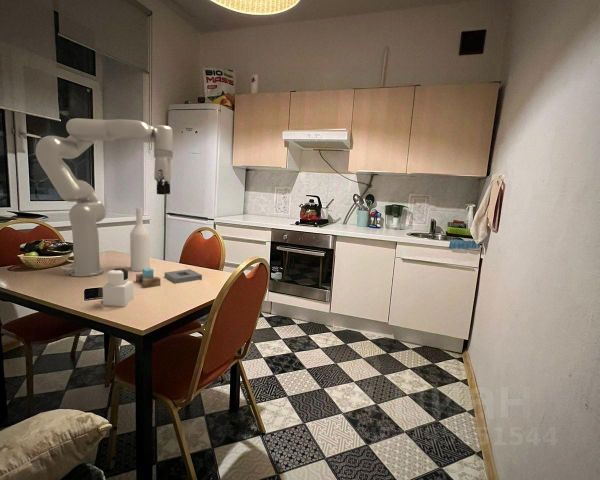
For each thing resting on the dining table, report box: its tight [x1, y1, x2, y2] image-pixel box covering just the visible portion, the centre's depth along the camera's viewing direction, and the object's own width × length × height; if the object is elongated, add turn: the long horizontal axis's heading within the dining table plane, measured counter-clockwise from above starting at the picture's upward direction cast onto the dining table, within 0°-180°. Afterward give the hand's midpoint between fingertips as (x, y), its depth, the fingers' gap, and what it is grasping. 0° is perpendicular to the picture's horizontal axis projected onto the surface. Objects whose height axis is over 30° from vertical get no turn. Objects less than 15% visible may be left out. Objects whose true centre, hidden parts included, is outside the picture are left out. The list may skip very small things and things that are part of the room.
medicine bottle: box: [101, 267, 135, 308], centre depth 109 cm, size 7×7×12 cm
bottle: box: [129, 207, 150, 272], centre depth 151 cm, size 8×8×30 cm
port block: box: [163, 268, 203, 285], centre depth 142 cm, size 12×12×2 cm
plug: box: [141, 267, 154, 279], centre depth 131 cm, size 3×4×6 cm
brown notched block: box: [135, 273, 161, 289], centre depth 132 cm, size 6×11×4 cm, turn 44°
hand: (163, 194), depth 142 cm, fingers open, 9 cm apart
